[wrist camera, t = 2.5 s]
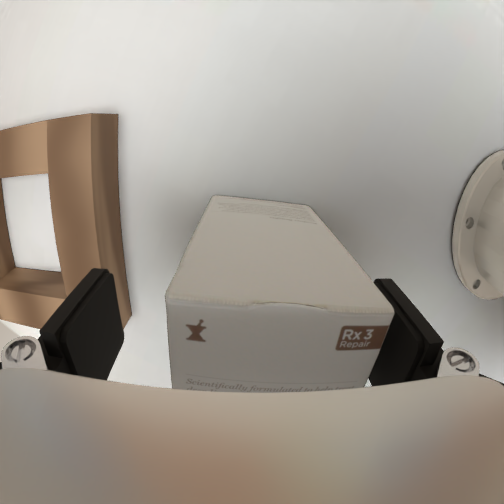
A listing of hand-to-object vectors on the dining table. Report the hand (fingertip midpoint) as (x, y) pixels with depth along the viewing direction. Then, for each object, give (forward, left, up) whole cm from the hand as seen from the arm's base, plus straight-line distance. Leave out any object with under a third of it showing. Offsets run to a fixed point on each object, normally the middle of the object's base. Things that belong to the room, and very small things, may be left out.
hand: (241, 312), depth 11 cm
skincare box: (-1, 0, -9) cm, 9 cm away
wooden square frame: (+15, 0, -9) cm, 18 cm away
